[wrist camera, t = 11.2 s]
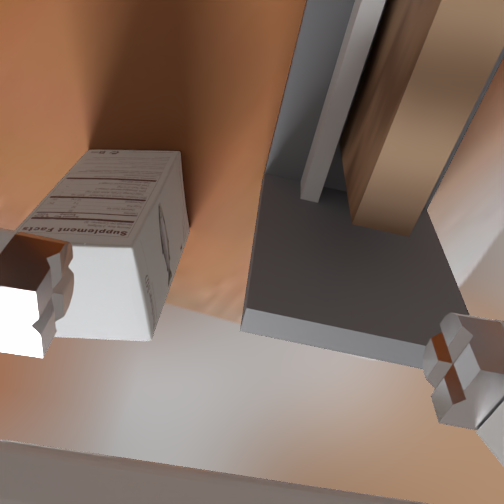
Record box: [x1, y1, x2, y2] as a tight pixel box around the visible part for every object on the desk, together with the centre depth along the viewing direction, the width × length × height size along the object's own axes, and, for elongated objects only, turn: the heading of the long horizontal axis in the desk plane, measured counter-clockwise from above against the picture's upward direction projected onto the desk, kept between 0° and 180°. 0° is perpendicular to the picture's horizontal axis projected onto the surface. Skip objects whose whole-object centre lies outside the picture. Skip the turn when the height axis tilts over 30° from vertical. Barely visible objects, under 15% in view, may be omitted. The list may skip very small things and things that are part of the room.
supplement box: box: [15, 149, 190, 341], centre depth 32 cm, size 7×7×13 cm
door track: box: [240, 0, 504, 369], centre depth 23 cm, size 22×12×16 cm, turn 168°
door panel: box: [340, 0, 504, 237], centre depth 24 cm, size 12×3×10 cm, turn 168°
